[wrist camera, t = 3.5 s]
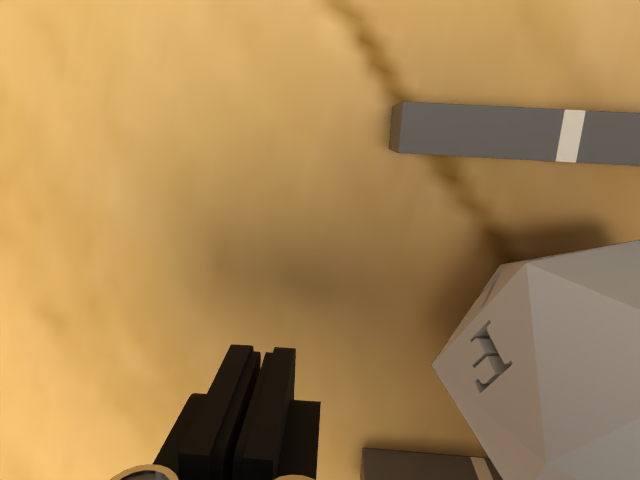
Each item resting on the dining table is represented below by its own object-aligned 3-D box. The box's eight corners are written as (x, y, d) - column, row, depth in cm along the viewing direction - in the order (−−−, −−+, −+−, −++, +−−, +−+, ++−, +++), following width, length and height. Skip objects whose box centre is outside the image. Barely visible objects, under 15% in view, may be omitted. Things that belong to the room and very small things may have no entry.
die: (590, 170, 17) (504, 221, 10) (842, 334, 14) (983, 587, 7) (467, 308, 21) (349, 409, 14) (632, 455, 18) (583, 678, 11)
